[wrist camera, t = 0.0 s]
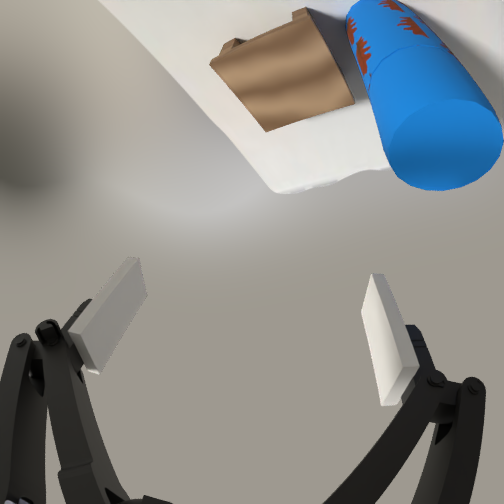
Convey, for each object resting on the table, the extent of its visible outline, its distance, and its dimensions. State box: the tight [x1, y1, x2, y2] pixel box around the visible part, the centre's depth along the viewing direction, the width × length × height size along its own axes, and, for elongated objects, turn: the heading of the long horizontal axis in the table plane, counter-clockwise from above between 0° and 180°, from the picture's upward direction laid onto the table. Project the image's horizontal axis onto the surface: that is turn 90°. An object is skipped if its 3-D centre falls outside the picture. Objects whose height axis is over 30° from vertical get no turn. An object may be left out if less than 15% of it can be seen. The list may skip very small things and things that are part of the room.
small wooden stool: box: [209, 7, 355, 132], centre depth 35 cm, size 14×14×7 cm
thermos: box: [345, 0, 504, 191], centre depth 24 cm, size 11×11×25 cm
